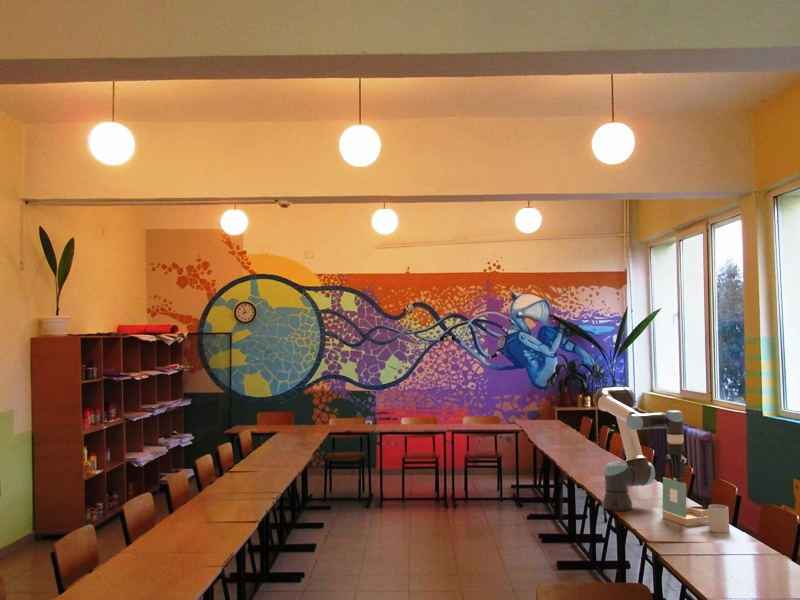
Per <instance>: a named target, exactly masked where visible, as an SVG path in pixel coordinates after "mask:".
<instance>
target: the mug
mask: <svg viewBox="0 0 800 600" xmlns="http://www.w3.org/2000/svg"><path fill="white" fill-rule="evenodd" d="M701 511H702V512H701V520H702V523H704V525H707V526H708V529H709V531H710V532H712V533H716V534H728V533H729V532H730V517H729V516H730V513H729V506H727V505H723V504H715V503H714V504H712V503H711V504H709V505H708V508H706V509H702V510H701ZM704 513H709V521H704V519H703V515H704Z"/></svg>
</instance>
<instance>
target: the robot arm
mask: <svg viewBox="0 0 800 600" xmlns="http://www.w3.org/2000/svg"><path fill="white" fill-rule="evenodd" d="M592 399H593V405H594V406H595V407H596V408H597V409H598V410H600V411H602V412H607V413H609V414H611V415H613V416H614V417H616V422H617V425H618V429H619V430H618V431H619V432H620V438H621V441H622V445H623V450H624V453H625V457H626V459H625V461H622V460H618V461H617V460H615V461H610V462H607V463H606V464H605V466H604V472H603V473H604V488H605V489H604V495H603V500H602V502H601V506H602V508H603V509H604V510H608V511H614V512H628V511H631V510H633V502H632V500H631V496H630V494H629V487H640V486H642V487H644V486H647V485H651V484H653V482H654V480H655V477H656V470H655V466H654V464H653V463H652V462H649V461H648V458H647V457H646V456H645V455H644V454H643V452H642V451H643V450H642V446H641V444H640V439H639V435H638V430H648V429H649V430H650V429H666V441H667V451H668V454H666V455H664V456H665V459H666V463H667V468H668V472H669V475H670V476H671V477H672V480H675V481H678V482H682V479H683V478H685V476H686V475H685V474H686V468H687V463H688V458H685V456H684V453H683V452H685V443H684V441H685V439H684V418H683V412H682V411H681V410H673V409H672V410H666V411H665V412H661V411H655V412H650V413H641V412H639V411H636V410H635V408H634V407H635V406H636V401H637V398H636V395H635V393H634V391H633V390H632V389H631V388H629V387H628V386H612V387H611V386H610V387H602V388H599V389H597V390H596V391H595V393H594V395H593V398H592Z"/></svg>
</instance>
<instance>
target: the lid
mask: <svg viewBox="0 0 800 600" xmlns="http://www.w3.org/2000/svg"><path fill="white" fill-rule="evenodd" d="M686 507H687V483H686V482H682V481H681V482H678V481H675V480H673V479H671V478H668V477H664V476H663V477H662V511H663V510H664V511H667V512H670V513H673V514H676V515H678V516H681V517H684V518H686Z"/></svg>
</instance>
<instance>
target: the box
mask: <svg viewBox="0 0 800 600" xmlns="http://www.w3.org/2000/svg"><path fill="white" fill-rule="evenodd" d="M661 511H662V513H661V514H662V518H663V519H665V520H668V521H671V522H673V523H676V524H679V525H682V526H684V527H687V528H689V527H695V526H703V525H705V524H704V523H702V520H701V512H702V511H703V510H700V509H698V508H695V507H691V506H688V507H687V506H686V518H684V517H681V516H678V515H676V514H673V513H670V512H667V511H664V510H663V509H662V510H661ZM703 519H704V521H709V513H704V515H703Z"/></svg>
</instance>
